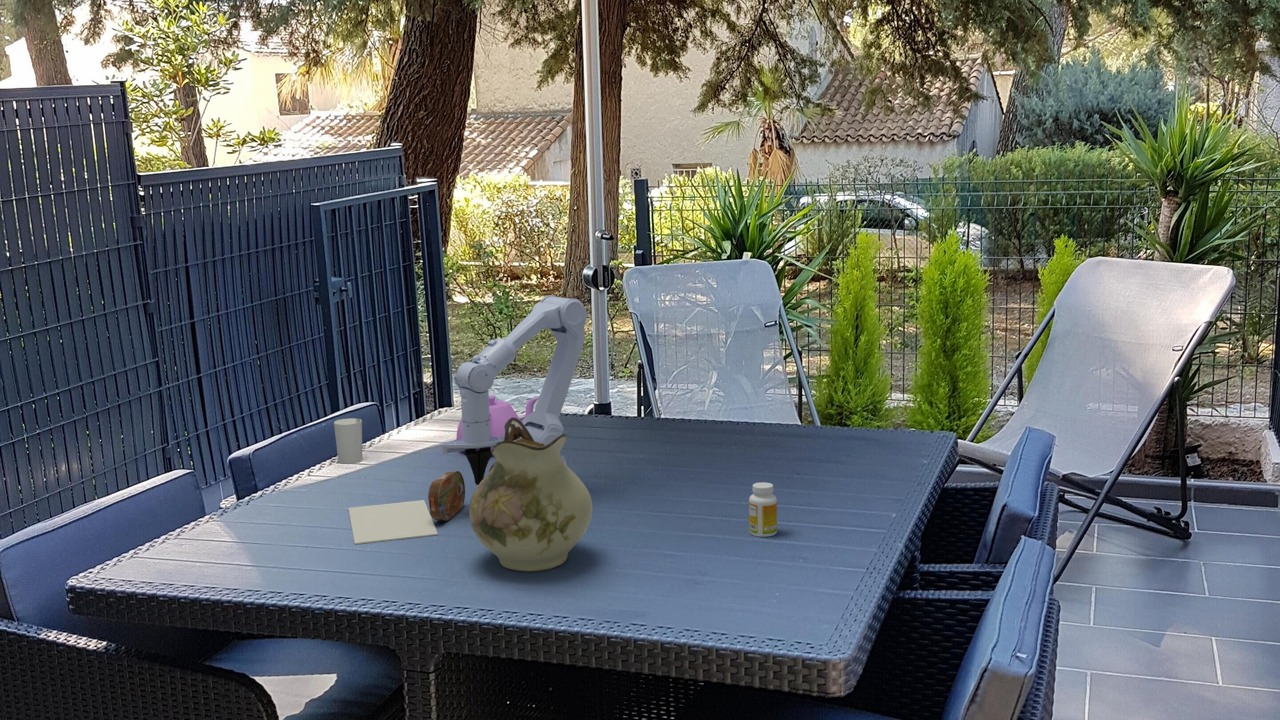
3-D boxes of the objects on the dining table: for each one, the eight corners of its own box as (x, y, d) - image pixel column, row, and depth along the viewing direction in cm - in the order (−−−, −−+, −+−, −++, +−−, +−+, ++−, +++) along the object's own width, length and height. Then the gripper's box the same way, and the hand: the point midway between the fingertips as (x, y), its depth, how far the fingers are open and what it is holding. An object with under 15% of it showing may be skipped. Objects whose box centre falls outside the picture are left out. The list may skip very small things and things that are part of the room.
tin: (441, 525, 234) (439, 485, 233) (426, 525, 235) (424, 484, 233) (467, 505, 249) (465, 466, 247) (453, 504, 249) (451, 466, 248)
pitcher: (545, 590, 199) (539, 449, 195) (441, 567, 212) (433, 433, 207) (616, 551, 218) (613, 421, 213) (517, 532, 230) (511, 409, 226)
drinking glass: (369, 459, 288) (367, 420, 286) (350, 465, 282) (347, 425, 281) (350, 456, 292) (348, 417, 290) (330, 462, 286) (328, 422, 284)
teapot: (538, 459, 284) (536, 404, 282) (450, 461, 285) (447, 406, 282) (546, 437, 306) (544, 386, 304) (464, 439, 306) (462, 388, 304)
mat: (424, 501, 252) (424, 499, 252) (437, 535, 229) (437, 533, 229) (348, 509, 248) (348, 507, 248) (354, 544, 225) (354, 543, 225)
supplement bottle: (779, 529, 228) (779, 482, 226) (773, 538, 223) (773, 489, 221) (752, 527, 230) (752, 480, 228) (746, 536, 225) (745, 487, 223)
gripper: (507, 413, 246) (509, 475, 248) (438, 418, 242) (441, 481, 244) (513, 420, 239) (515, 483, 242) (442, 426, 235) (446, 490, 238)
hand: (478, 483), depth 243 cm, fingers closed
